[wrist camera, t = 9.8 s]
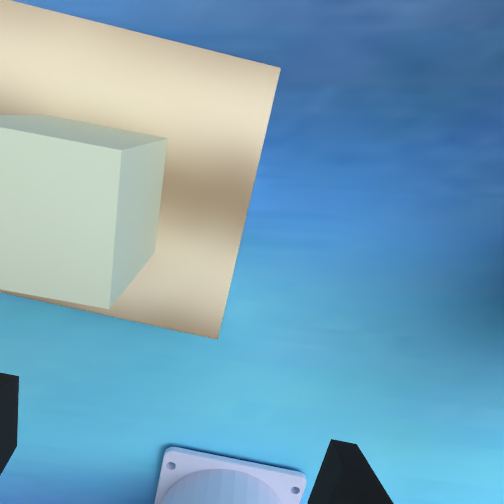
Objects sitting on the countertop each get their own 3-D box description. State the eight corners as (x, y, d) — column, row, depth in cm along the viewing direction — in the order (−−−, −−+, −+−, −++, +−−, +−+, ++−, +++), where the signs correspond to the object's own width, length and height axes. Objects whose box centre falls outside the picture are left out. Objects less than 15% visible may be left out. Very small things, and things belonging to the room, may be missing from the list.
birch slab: (224, 308, 20) (217, 339, 18) (4, 259, 20) (-39, 283, 17) (277, 75, 17) (280, 68, 14) (13, 10, 16) (-40, -13, 14)
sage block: (154, 252, 16) (109, 309, 12) (43, 231, 16) (-49, 280, 11) (167, 138, 15) (121, 150, 10) (45, 114, 15) (-60, 115, 10)
